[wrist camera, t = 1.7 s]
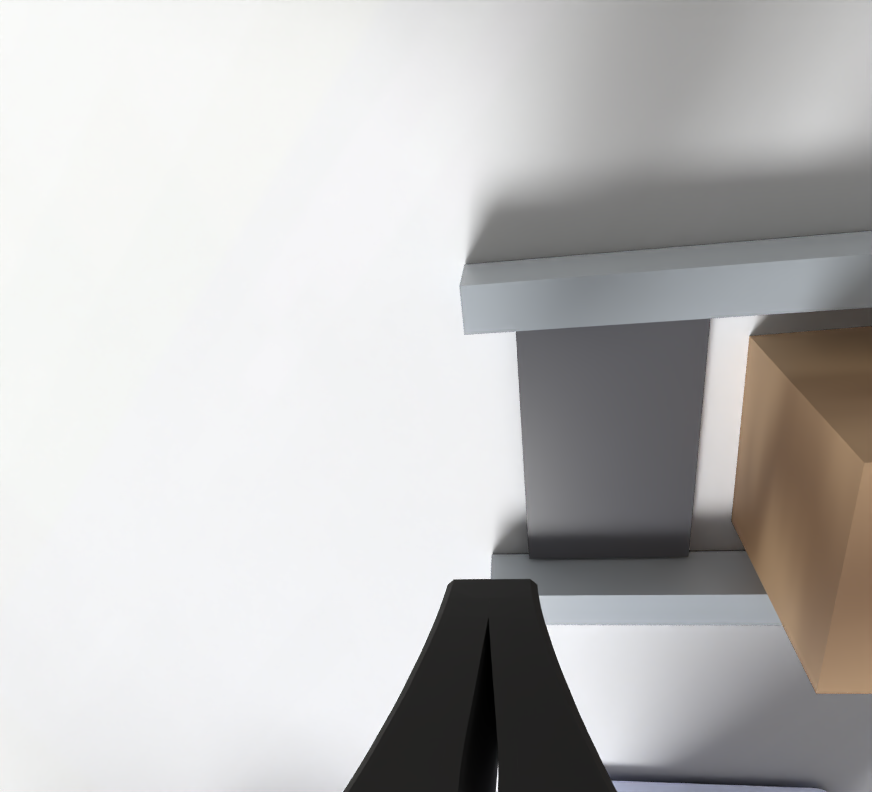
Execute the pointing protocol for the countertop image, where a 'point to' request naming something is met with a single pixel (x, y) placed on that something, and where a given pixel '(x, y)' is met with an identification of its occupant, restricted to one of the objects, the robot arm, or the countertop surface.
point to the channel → (638, 413)
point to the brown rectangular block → (812, 495)
